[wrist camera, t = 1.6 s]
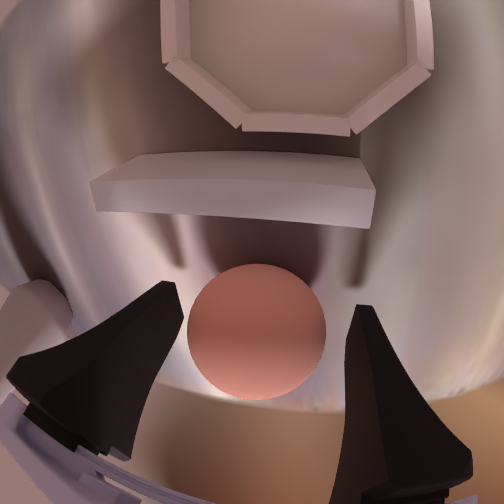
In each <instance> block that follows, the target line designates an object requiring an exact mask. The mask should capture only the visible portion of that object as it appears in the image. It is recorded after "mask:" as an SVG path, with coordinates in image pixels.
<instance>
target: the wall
mask: <svg viewBox="0 0 504 504" xmlns="http://www.w3.org/2000/svg"><path fill="white" fill-rule="evenodd" d="M89 183H90V187H91V191H92V195H93V199H94V203H95V207H96V211H113V212H144V213H168V214H189V215H207V216H224V217H239V218H253V219H267V220H279V221H292V222H303V223H314V224H325V225H335V226H345V227H355V228H364V229H370V225H371V219H372V213H373V207H374V201H375V194H376V189H375V187H374V185H373V183H372V181H371V179H370V177H369V175H368V173H367V171H366V169H365V167H364V165H363V163H362V162H361V160H360V158H352V157H343V156H333V155H321V154H308V153H292V152H269V151H198V152H175V153H159V154H146V155H139V156H137V157H135V158H133V159H131V160H129V161H127V162H125V163H123V164H122V165H120V166H118V167H116V168H114V169H112V170H110V171H108V172H107V173H105V174H103V175H101V176H100V177H98V178H96V179H94V180H93V181H91V182H89Z"/></svg>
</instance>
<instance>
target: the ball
mask: <svg viewBox="0 0 504 504" xmlns="http://www.w3.org/2000/svg"><path fill="white" fill-rule="evenodd" d="M187 339H188V345H189V349H190V353H191V356H192V358H193V360H194V362H195V364H196V366H197V368H198V369H199V371H200V372H201V373H202V375H203V376H204V377H205V378H206V379H207V380H208V381H209V382H210V383H211V384H213V385H214V386H215V387H216V388H218V389H220V390H221V391H223V392H225V393H227V394H230V395H232V396H235V397H238V398H243V399H250V400H264V399H270V398H275V397H278V396H281V395H283V394H286V393H288V392H290V391H292V390H293V389H295V388H296V387H298V386H299V385H300V384H302V383H303V382H304V381H305V380H306V379H307V378H308V377H309V376H310V374H311V373H312V372H313V371H314V369H315V368H316V366H317V364H318V362H319V360H320V358H321V355H322V353H323V350H324V345H325V339H326V324H325V318H324V314H323V310H322V308H321V305H320V303H319V301H318V299H317V297H316V296H315V294H314V293H313V291H312V290H311V289H310V288H309V287H308V285H307V284H306V283H305V282H303V281H302V280H301V279H300V278H298V277H297V276H295V275H294V274H292V273H291V272H289V271H287V270H285V269H282V268H280V267H276V266H273V265H267V264H246V265H241V266H237V267H234V268H231V269H229V270H227V271H225V272H222V273H221V274H219V275H218V276H217V277H215V278H214V279H212V280H211V281H210V282H209V283H208V284H207V285H206V286H205V287H204V288H203V289H202V291H201V292H200V293H199V295H198V296H197V298H196V299H195V302H194V304H193V306H192V308H191V311H190V315H189V319H188V325H187Z"/></svg>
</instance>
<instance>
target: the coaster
mask: <svg viewBox="0 0 504 504" xmlns="http://www.w3.org/2000/svg"><path fill="white" fill-rule="evenodd" d="M160 14H161V48H162V64H168V65H167V66H166V67H165V69H166V70H167V71H169V72H170V73H171V74H172V75H174V76H175V77H176V78H177V79H179V80H180V81H181V82H182V83H184V84H185V85H186V86H187V87H188V88H190V89H191V90H192V91H193V92H194V93H196V94H197V95H198V96H199V97H200V98H201V99H203V100H204V101H205V102H206V103H207V104H208V105H210V106H211V107H212V108H213V109H214V110H215V111H216V112H218V113H219V114H220V115H221V116H222V117H223V118H224V119H225V120H227V121H228V122H229V123H230V124H231V125H232V126H233V127H234V128H235V129H237V128H239V127H241V126H242V131H267V132H297V133H314V134H327V135H338V136H348V137H350V128H351V129H352V130H353V131H354V133H355V134H356V135H357V134H358V133H359V132H361V131H362V130H363V129H364V128H366V127H367V126H368V125H369V124H371V123H372V122H373V121H374V120H376V119H377V118H378V117H379V116H381V115H382V114H383V113H384V112H386V111H387V110H388V109H389V108H391V107H392V106H393V105H394V104H396V103H397V102H398V101H399V100H401V99H402V98H403V97H404V96H406V95H407V94H408V93H410V92H411V91H412V90H413V89H415V88H416V87H417V86H419V85H420V84H421V83H422V82H424V81H425V80H426V79H428V78H429V77H430V76H431V74H430V73H429V71H431V70H434V48H433V31H432V19H431V10H430V2H429V0H160Z"/></svg>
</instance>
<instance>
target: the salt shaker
mask: <svg viewBox="0 0 504 504" xmlns="http://www.w3.org/2000/svg"><path fill="white" fill-rule="evenodd" d="M72 317H73V313H72V311H71V308H70V306H69V304H68V301H67V299H66V297H65V296H64V295H63V294H62V293H61V292H60V291H59V290H58V289H57V288H56V287H55V286H54V285H53V284H52V283H51V282H50V281H46V280H41V279H37V280H34V281H31V282H28V283H25V284H22V285H19V286H17V287H16V288H14V289H13V290H12V292H11V293H10V295H9V297H8V298H7V300H6V301H5V303H4V304H3V306H2V308H1V310H0V404H1V403H2V402H3V401H4V400H5V399H6V398H7V396H8V394H9V393H10V392H13V391H14V390H15V389H16V388H15V387H14V386H13V385H12V384H11V383H10V382H9V381H8V380H7V378H6V375H7V373H8V372H9V370H10V369H11V368H12V366H13V365H14V364H15V362H16V361H17V359H18V358H19V357H20V356H24V355H28V354H32V353H36V352H39V351H43V350H46V349H48V348H51V347H54V346H57V345H59V344H62V343H64V341H65V340H66V338H67V335H68V331H69V327H70V324H71V320H72Z"/></svg>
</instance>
